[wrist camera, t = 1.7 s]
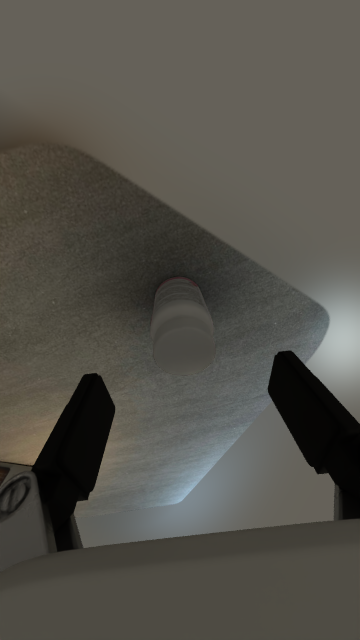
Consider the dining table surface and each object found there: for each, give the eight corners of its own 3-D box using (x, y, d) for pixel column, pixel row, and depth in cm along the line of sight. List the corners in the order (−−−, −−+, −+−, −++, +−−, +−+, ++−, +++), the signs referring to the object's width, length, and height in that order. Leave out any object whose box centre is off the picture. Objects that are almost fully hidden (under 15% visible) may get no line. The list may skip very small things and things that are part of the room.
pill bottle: (145, 293, 18) (129, 347, 11) (184, 265, 17) (198, 306, 10) (172, 325, 20) (175, 389, 13) (209, 303, 19) (235, 359, 12)
